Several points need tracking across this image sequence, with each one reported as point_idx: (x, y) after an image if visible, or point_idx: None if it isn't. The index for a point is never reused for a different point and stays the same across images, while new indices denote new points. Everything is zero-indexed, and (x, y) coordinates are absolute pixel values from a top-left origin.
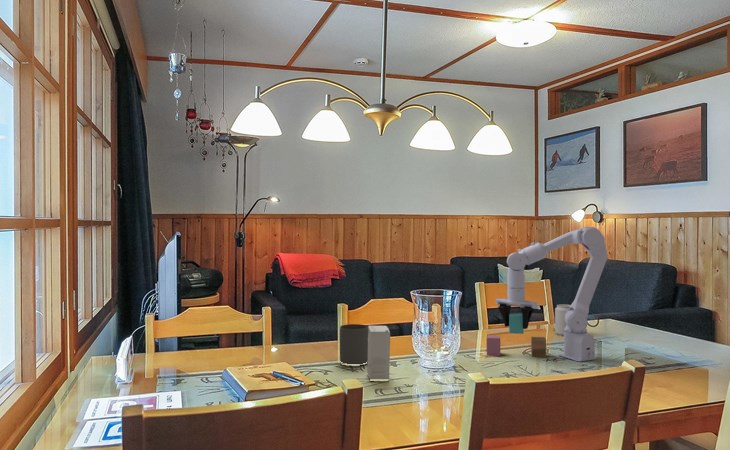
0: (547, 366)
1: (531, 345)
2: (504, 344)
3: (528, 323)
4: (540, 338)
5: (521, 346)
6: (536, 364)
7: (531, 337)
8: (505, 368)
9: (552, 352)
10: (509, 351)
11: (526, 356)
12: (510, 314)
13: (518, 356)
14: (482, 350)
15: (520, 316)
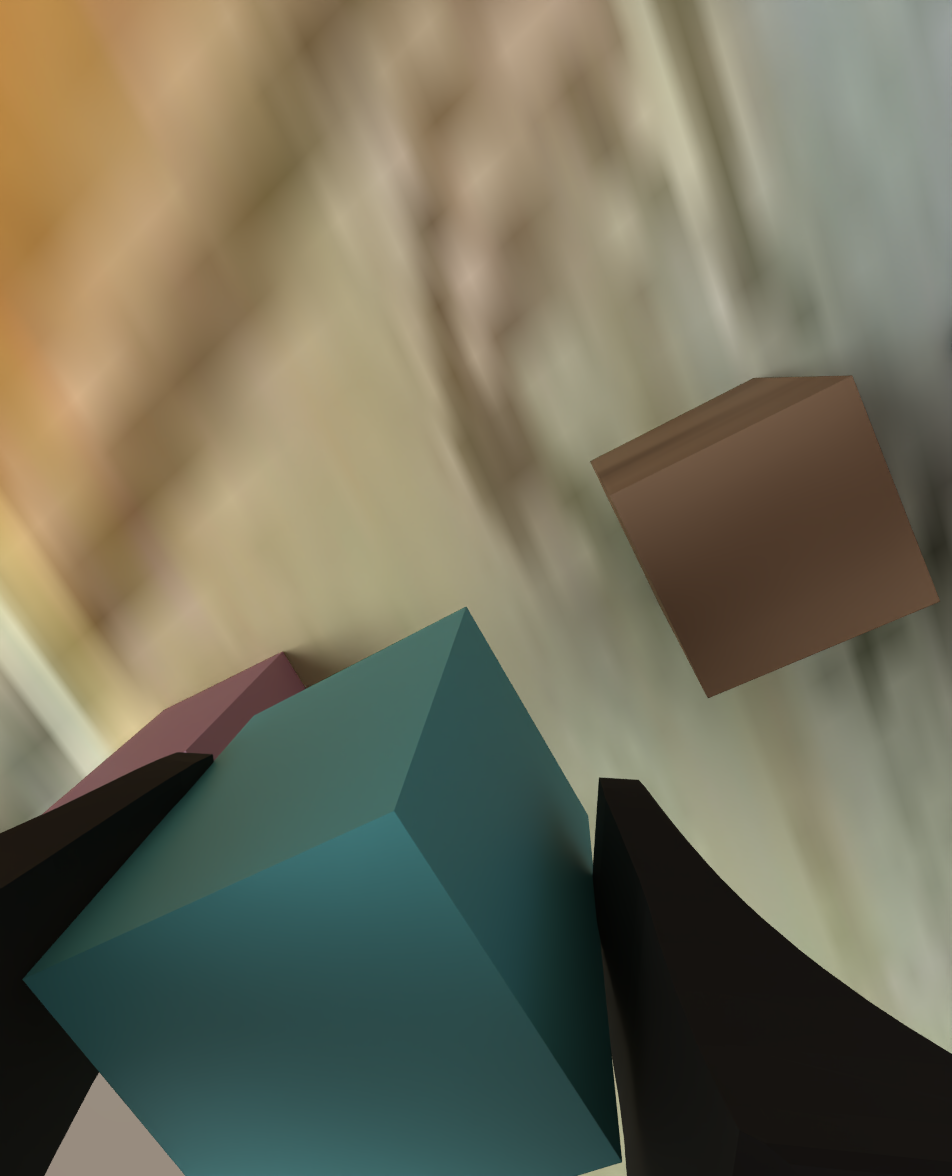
0: (944, 894)
1: (618, 517)
2: (45, 148)
3: (677, 830)
4: (811, 547)
5: (285, 97)
6: (817, 882)
7: (632, 542)
8: (620, 1133)
9: (810, 172)
10: (321, 514)
11: (595, 626)
12: (157, 1095)
13: (521, 680)
14: (76, 661)
15: (536, 1170)
